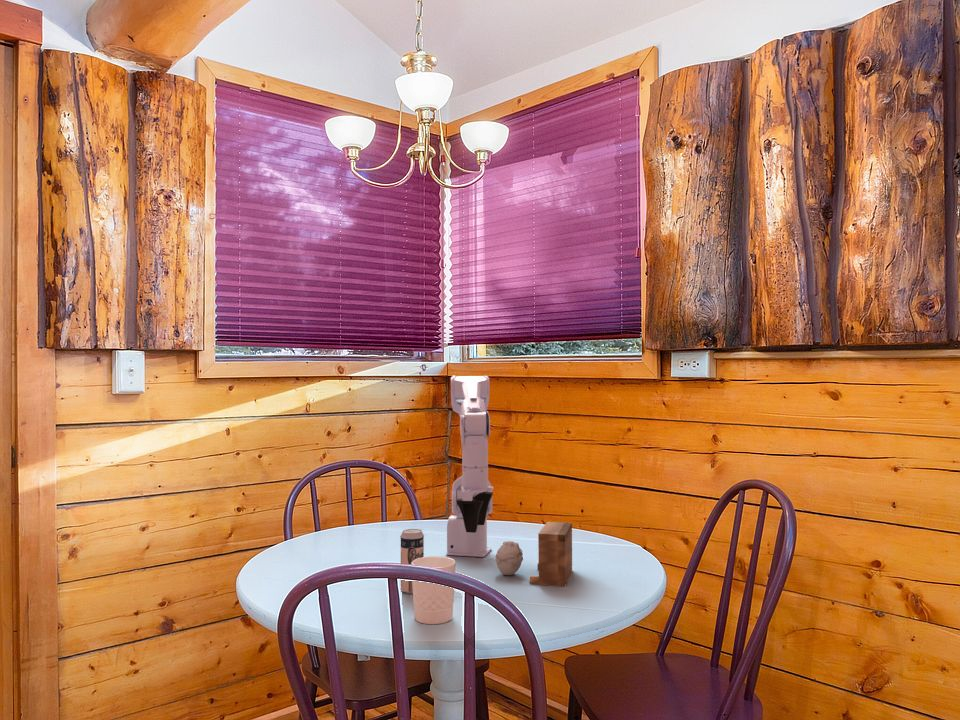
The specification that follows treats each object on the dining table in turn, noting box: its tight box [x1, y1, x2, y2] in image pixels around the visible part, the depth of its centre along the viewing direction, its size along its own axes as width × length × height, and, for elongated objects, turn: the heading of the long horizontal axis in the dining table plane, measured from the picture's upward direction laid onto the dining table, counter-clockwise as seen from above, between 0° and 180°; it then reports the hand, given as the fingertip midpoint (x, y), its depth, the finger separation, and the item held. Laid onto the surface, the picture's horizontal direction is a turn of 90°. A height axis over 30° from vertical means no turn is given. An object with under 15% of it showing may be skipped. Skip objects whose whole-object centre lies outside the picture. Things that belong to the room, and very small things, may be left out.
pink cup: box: [411, 555, 456, 625], centre depth 127 cm, size 8×8×10 cm
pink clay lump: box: [494, 540, 524, 576], centre depth 154 cm, size 6×7×7 cm
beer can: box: [399, 528, 425, 595], centre depth 143 cm, size 5×5×12 cm
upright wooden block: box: [529, 521, 573, 587], centre depth 152 cm, size 8×12×10 cm, turn 166°
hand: (475, 528), depth 157 cm, fingers open, 7 cm apart
